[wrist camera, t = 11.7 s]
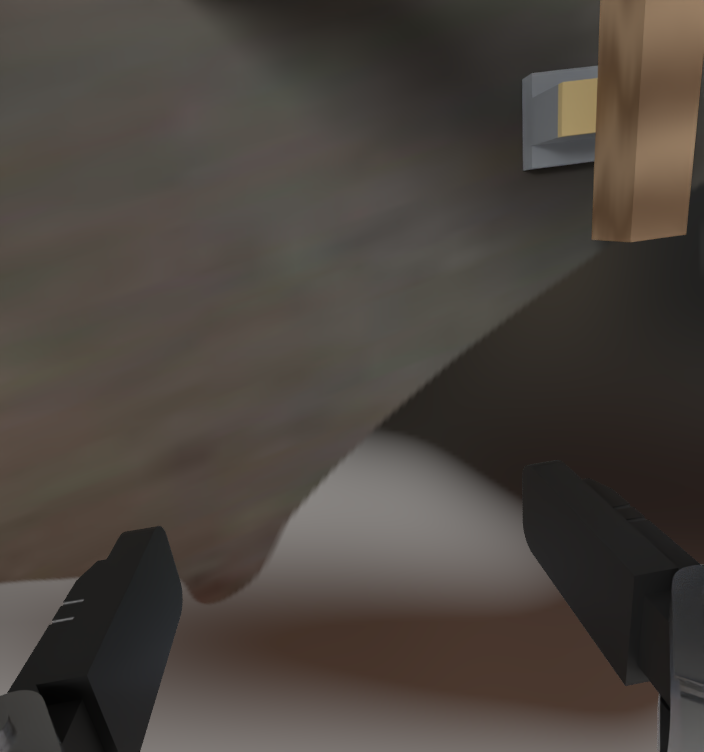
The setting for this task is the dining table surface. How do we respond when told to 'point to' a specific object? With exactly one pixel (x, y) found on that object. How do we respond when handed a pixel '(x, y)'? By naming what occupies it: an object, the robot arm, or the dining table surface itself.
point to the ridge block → (559, 117)
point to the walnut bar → (646, 117)
